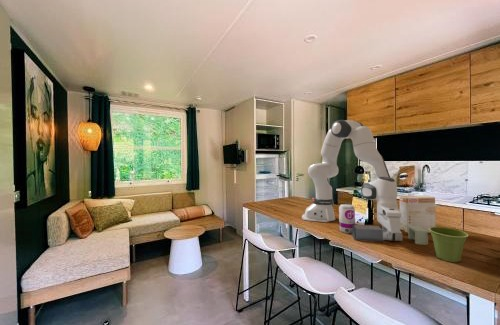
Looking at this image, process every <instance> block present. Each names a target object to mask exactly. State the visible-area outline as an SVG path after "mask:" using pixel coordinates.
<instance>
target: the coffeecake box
mask: <svg viewBox="0 0 500 325" xmlns="http://www.w3.org/2000/svg"><path fill="white" fill-rule="evenodd" d="M398 197H399V211H400V212H401V217H400V221H401V225H400V231H401V230H402V231H403V232H405V233H407V234H408V226H420V227H421V228H423V229H425V230H426V231H428V234H429V233H430V234H431V231H430V230H429V228H430V227H437V224H436V220H437V219H436V197H435V196H430V195H427V194H426V195H399V196H398Z"/></svg>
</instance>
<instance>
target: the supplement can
mask: <svg viewBox="0 0 500 325" xmlns="http://www.w3.org/2000/svg"><path fill="white" fill-rule="evenodd" d="M355 212H356V209H355V206H354V205H353V204H348V203H341V204H340V205H339V206H338V222H339V223H338V225H339V226H338V228H339V230H340V232H341V233H343V234H352V225H356V213H355Z"/></svg>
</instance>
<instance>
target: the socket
mask: <svg viewBox="0 0 500 325" xmlns="http://www.w3.org/2000/svg"><path fill="white" fill-rule="evenodd" d="M407 234H408V235H407V236H408V237H407V238H408V239H409V240H414V244H415V245H427V246H428V245H429V233H428V231H426V230H425V229H423V228H421V227H420V226H408V233H407Z"/></svg>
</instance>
